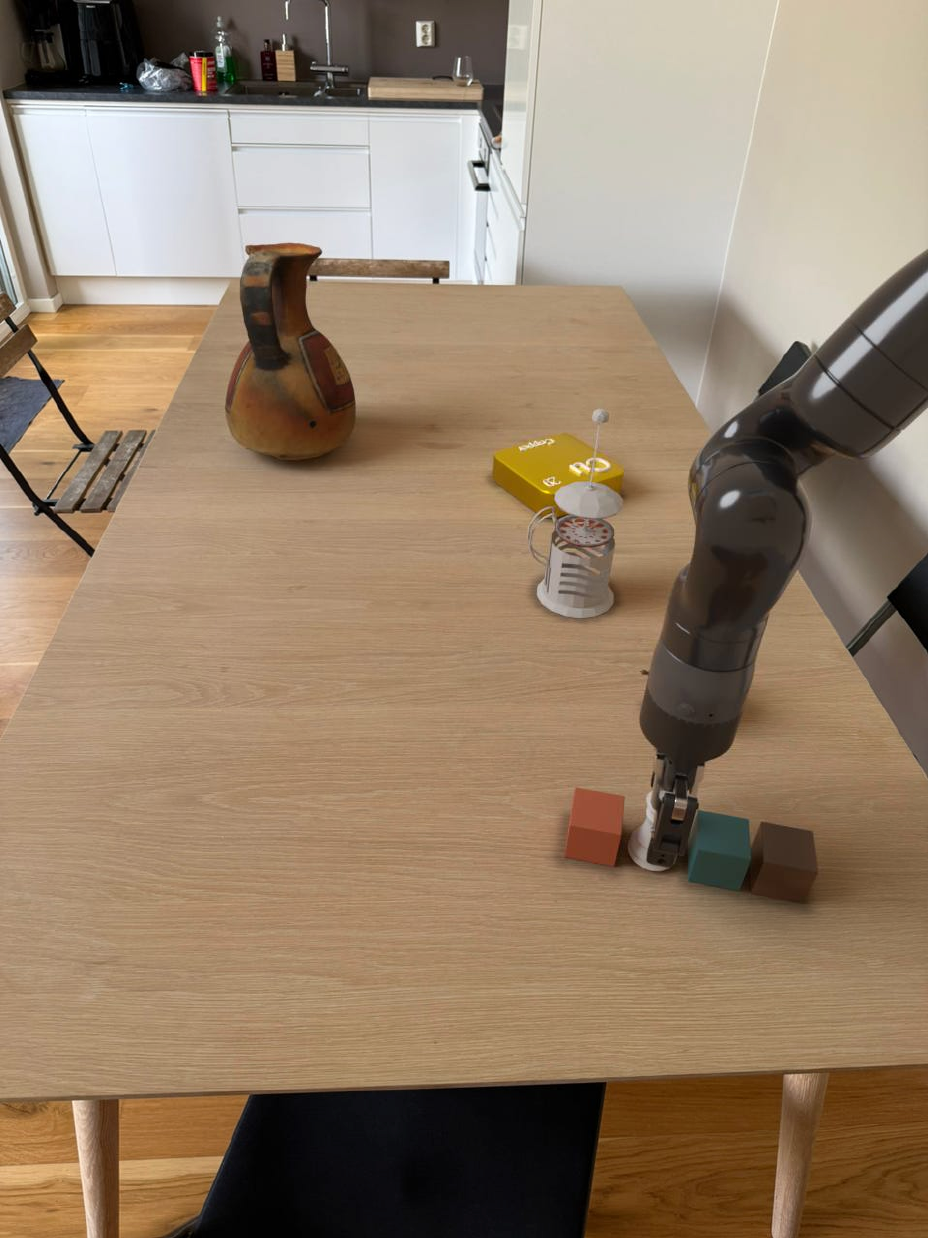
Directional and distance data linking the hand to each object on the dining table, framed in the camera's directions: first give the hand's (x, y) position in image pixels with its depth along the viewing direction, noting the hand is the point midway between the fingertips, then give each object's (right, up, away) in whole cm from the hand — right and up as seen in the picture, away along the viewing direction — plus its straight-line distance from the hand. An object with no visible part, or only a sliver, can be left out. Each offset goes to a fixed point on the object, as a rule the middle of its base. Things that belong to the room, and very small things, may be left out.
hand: (660, 823), depth 78 cm
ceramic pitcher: (-44, +45, +63) cm, 89 cm away
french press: (-4, +21, +34) cm, 40 cm away
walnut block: (+11, -5, +1) cm, 12 cm away
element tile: (-4, +38, +56) cm, 67 cm away
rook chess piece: (0, -4, +3) cm, 5 cm away
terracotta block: (-6, -3, +3) cm, 7 cm away
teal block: (+5, -4, +2) cm, 7 cm away
